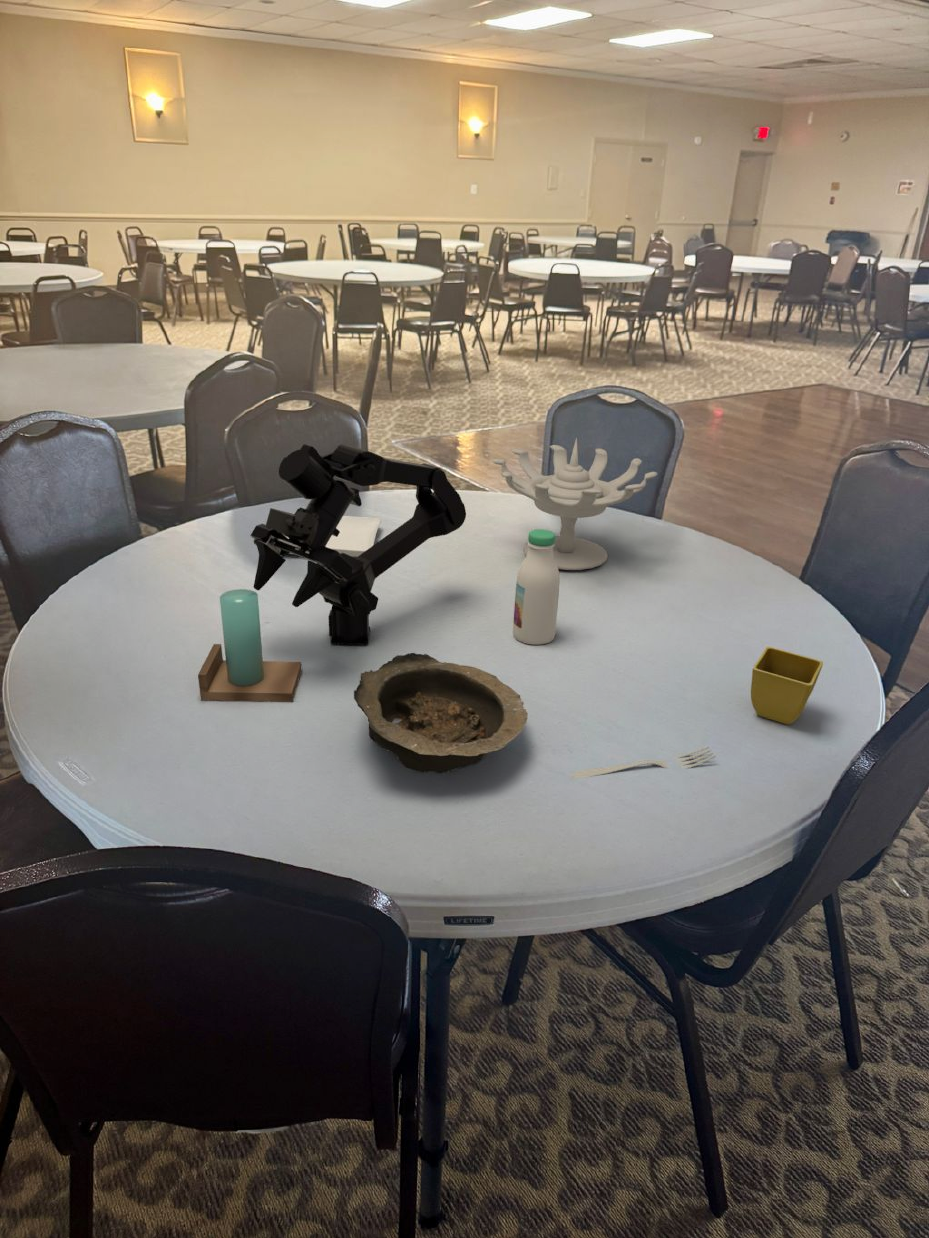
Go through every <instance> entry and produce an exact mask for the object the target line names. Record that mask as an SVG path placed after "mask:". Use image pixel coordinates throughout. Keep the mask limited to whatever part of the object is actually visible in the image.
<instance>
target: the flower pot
mask: <svg viewBox="0 0 929 1238" xmlns="http://www.w3.org/2000/svg"><path fill="white" fill-rule="evenodd" d="M823 665H824V664H823V661H821V660H819V659H817V658H812V657H810V656H804V655H801V654H798V653H794V652H790V651H786V650H783V649H779V648H775V647H772V646H766V647H765V648H764V650H763V652H762V654H761V655H760V657H759V658H758V660H757V661H756V663H755V664H753V667H752V672H751V673H752V674H751V684H750V700H751V703H752V708H753V710H754V711H755V713H756V714H757V716H759V717H762V718H765V719H769V720H771V721H775V722H778V723H782V724H785V725H788V726H789V725H791V724H793V723H794V722H795V721H796V720H797V719H798V718H799V717H800V715H801V714H802V713H803V711H804V708H805V706H806V704H807V703H808V702H807V701H808V700H809V698H810V696H811V694H812V693H813V691H814V688H815V686H816V684H817V680H818V678H819V675H820V673H821V671H822V668H823Z"/></svg>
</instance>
